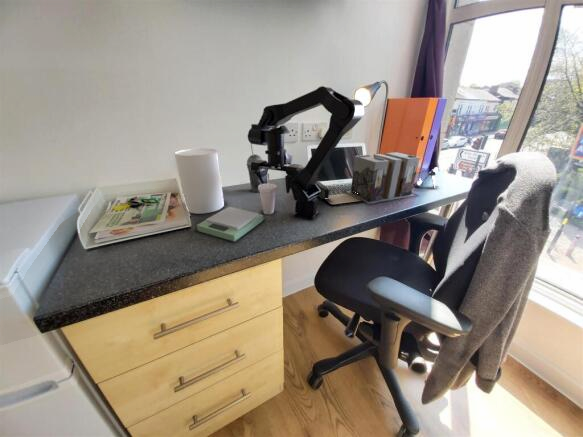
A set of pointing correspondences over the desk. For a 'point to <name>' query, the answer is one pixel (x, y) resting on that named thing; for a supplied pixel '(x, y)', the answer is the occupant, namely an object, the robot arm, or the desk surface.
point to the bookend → (383, 176)
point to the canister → (200, 179)
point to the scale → (230, 223)
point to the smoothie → (267, 196)
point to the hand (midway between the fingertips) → (276, 190)
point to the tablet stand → (427, 176)
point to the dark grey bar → (323, 191)
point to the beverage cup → (253, 177)
